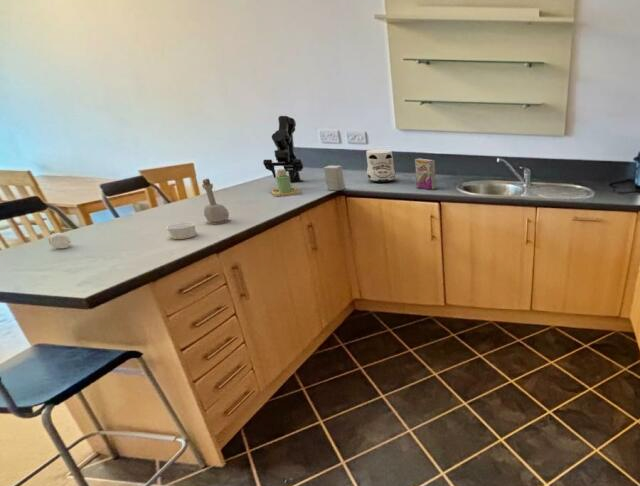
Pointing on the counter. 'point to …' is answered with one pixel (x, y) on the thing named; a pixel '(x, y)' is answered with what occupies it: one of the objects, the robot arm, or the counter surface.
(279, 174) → the cap
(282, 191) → the bottle
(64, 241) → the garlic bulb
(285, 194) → the tray
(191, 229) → the ramekin
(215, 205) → the potion bottle
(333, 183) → the white packaging box
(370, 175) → the cream face block
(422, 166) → the candy bar box
